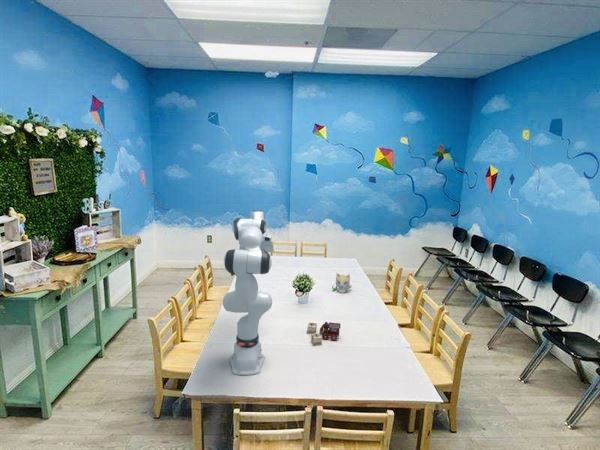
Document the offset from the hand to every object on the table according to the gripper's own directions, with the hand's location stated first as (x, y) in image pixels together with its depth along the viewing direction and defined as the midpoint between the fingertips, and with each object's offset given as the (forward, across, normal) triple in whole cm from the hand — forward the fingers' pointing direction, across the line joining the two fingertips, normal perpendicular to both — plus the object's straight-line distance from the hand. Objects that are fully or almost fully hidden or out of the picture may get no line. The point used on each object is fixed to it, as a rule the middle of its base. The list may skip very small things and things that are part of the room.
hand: (256, 259), depth 228 cm
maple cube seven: (+47, +34, -8) cm, 58 cm away
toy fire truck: (+47, +44, -16) cm, 66 cm away
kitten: (+47, +72, +50) cm, 99 cm away
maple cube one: (+47, +34, -20) cm, 61 cm away
